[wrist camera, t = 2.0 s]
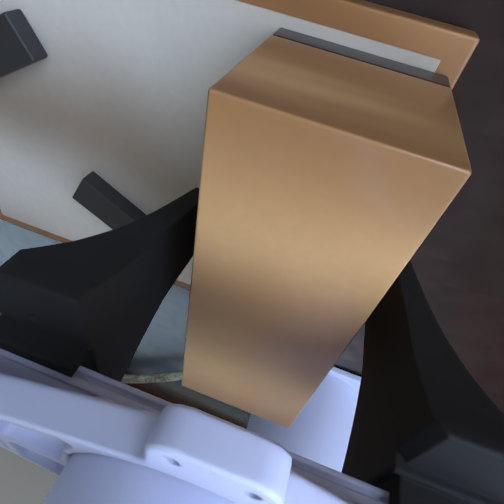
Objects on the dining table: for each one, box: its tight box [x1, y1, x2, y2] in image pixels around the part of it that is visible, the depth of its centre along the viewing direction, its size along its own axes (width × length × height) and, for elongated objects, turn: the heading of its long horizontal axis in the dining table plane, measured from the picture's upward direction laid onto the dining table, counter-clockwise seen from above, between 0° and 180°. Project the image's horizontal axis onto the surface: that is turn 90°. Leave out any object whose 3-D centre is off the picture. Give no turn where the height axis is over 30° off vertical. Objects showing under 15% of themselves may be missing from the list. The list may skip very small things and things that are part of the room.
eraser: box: [182, 28, 472, 428], centre depth 13 cm, size 13×5×6 cm, turn 169°
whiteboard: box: [0, 0, 479, 290], centre depth 16 cm, size 15×20×1 cm
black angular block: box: [72, 171, 146, 229], centre depth 18 cm, size 4×2×1 cm, turn 49°
